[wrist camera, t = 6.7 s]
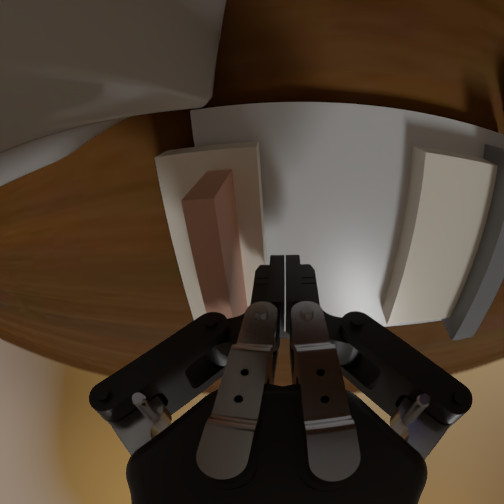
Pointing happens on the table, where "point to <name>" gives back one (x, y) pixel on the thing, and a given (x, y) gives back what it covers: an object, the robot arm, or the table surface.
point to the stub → (215, 222)
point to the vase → (97, 70)
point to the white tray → (378, 205)
